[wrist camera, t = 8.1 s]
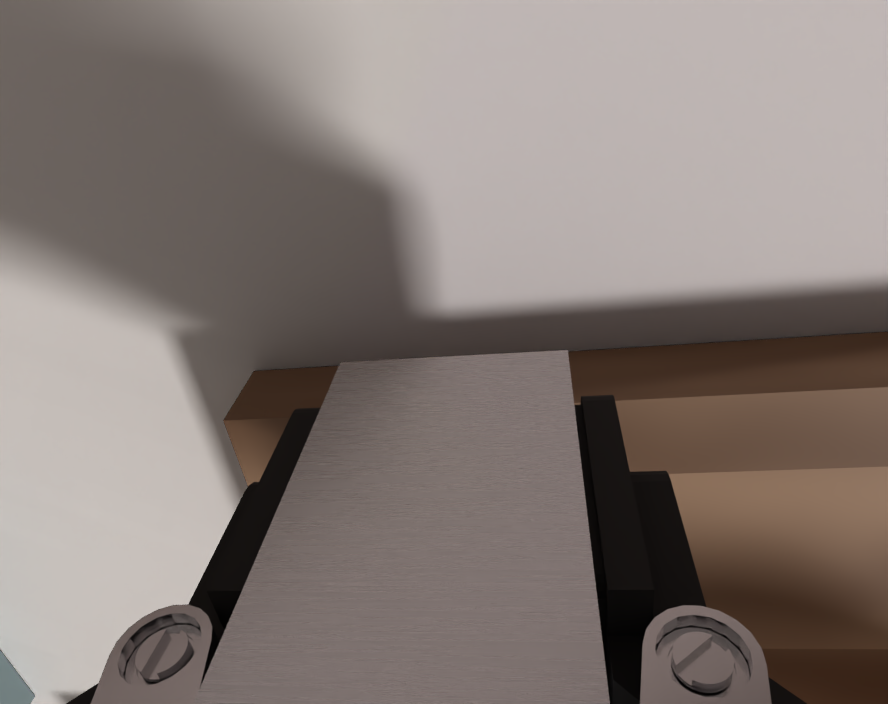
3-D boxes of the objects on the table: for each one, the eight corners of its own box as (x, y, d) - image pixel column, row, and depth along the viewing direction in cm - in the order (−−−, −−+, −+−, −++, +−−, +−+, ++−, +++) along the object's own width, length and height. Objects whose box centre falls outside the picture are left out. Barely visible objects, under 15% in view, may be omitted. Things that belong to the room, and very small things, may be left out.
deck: (253, 371, 16) (222, 420, 15) (1432, 297, 13) (1573, 352, 11) (396, 802, 27) (388, 859, 25) (1060, 828, 23) (1102, 897, 22)
